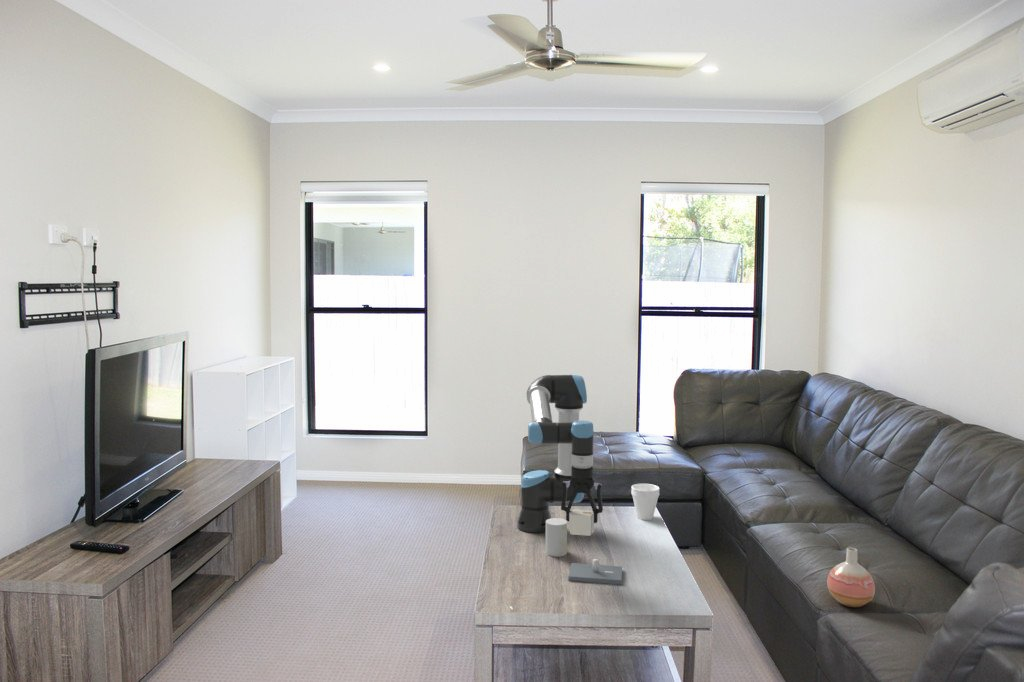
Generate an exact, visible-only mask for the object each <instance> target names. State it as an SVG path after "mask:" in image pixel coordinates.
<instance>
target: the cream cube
mask: <svg viewBox="0 0 1024 682" xmlns="http://www.w3.org/2000/svg"><path fill="white" fill-rule="evenodd" d="M571 511H572V512H571V515H570V531H569V532H570V533H569V534H570V535H574V536H575V535H577V536H586V537H587V536H590V537H591V536H592V533H591V516H592V512H593V510H592V509H578V508H576V509H575V508H573V509H572V510H571Z"/></svg>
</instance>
